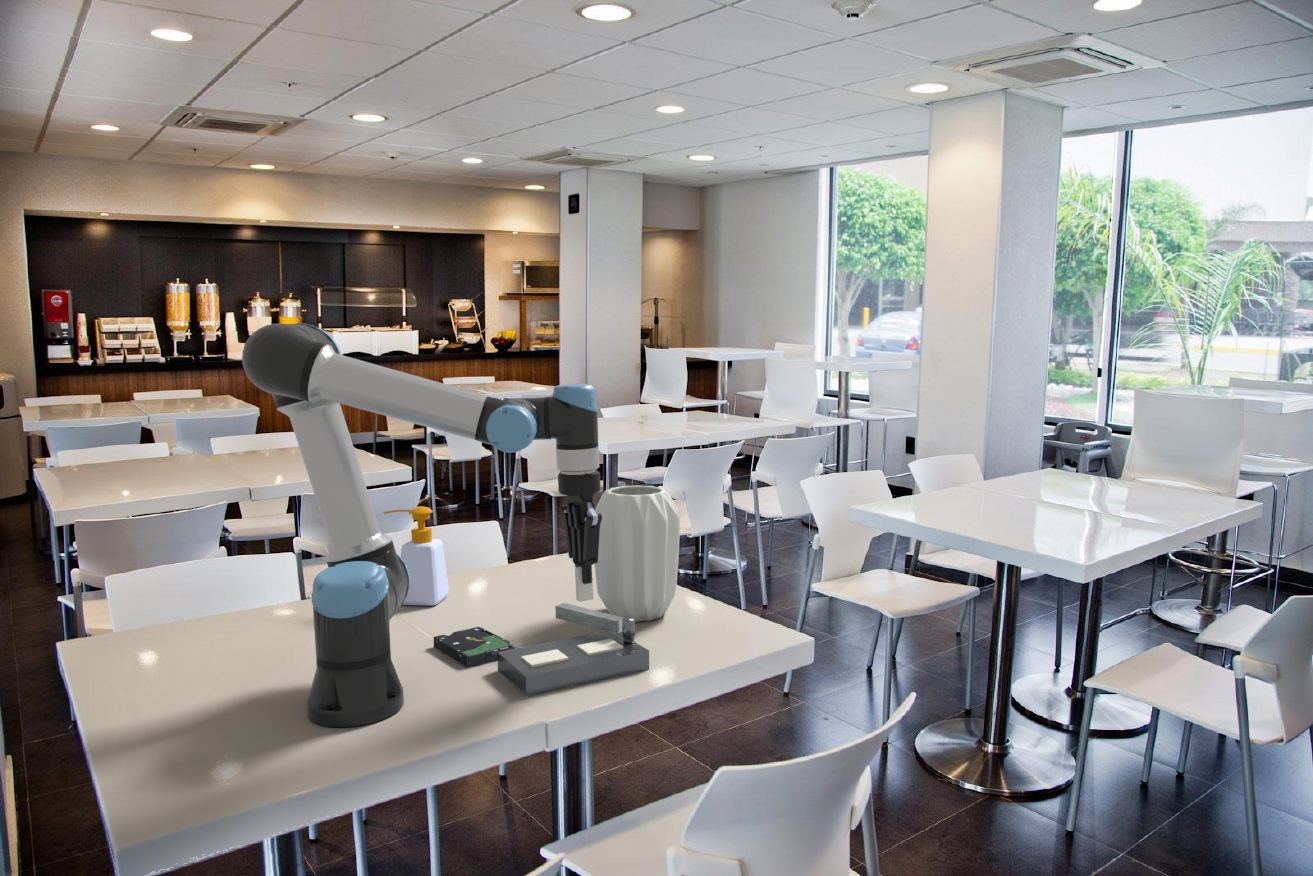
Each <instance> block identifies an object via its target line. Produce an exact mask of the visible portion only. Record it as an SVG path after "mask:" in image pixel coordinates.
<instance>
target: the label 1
mask: <svg viewBox="0 0 1313 876" xmlns="http://www.w3.org/2000/svg"><path fill="white" fill-rule="evenodd" d="M521 659H522V660H524V661H525V662H526V663H527V664H528V665H530V666H531V667H536V666H541V665H545V664H550V663H555V662H560V661H565V660H569V658H568V657H567V656H566V655H564V654H563V653H562V652H560V651H559V650H557V649H556V650H551V651H546V652H541V653H536V654H531V655H526V656H521Z"/></svg>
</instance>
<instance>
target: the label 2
mask: <svg viewBox="0 0 1313 876" xmlns="http://www.w3.org/2000/svg"><path fill="white" fill-rule="evenodd" d="M577 648H579V649H580V650H582V651H583V652H584V653H586V654H587V655H594V654H599V653H604V652H609V651H613V650H618V649H623V646H622V645H620V644H619V643H617V642H615V641H614V640H612V639H606V640H601V641H596V642H591V643H586V644H581V645H577Z"/></svg>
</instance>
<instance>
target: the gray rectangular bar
mask: <svg viewBox="0 0 1313 876" xmlns="http://www.w3.org/2000/svg"><path fill="white" fill-rule="evenodd" d="M555 619H557V620H562V621H566V622H570V623H573V624H577V625H580V626H584V627H589V628H592V629H597V630H600V631H602V632H603V631H606V632H610V633H614V634H618V633H621V634H622V637H624V638H633V637H634V638H635V637H636V628H635V627H636V622H635V618H633V617H624V618H623V617H619V616H615V615H611V614H610V613H606V612H602V611H600V610H594V609H591V608H586V607H581V606H578V605H574V604H571V603H567V602H563V603H560V604H557V605H555Z"/></svg>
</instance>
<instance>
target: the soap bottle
mask: <svg viewBox="0 0 1313 876" xmlns="http://www.w3.org/2000/svg"><path fill="white" fill-rule="evenodd" d="M397 512H398V513H399V512H400V513H402V512H407V513H408V514H409V515H412V520H413V521H417V527H415V528H412V529H411V533H410V534H411V540H409V541H407V542H405V543H404V544H402V545H401V549H400V557H401V558H402V559H403V560H404V562H405V563H406V565H407V567H408V570H409V574H410V586H409V591H408V594H407V597H406V599H405V601H404V603H403V604H402V606H403V605H405V606H426V607H427V606H429V607H430V606H431V607H433V606H436V605H438V604H439V603H441V602H442V601H443V600H445V599H446V598H447V597H448V596H449V594H450V587H449V581H448V573H447V572H448V571H447V564H446V557H445V551H444V544H443V540H442V539H439V538H433V529H432V528H431V527H426V522H425V521H426V520H428V519H431V518H430V517H431V516H430V514H432V513H433V510H432V509H431V508H429V507H427V506H423V505H421V506H416V507H413V508H412V509H393V510H386V511H383V512H382V513H383V514H384V515H386V514H391V513H397Z"/></svg>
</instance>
